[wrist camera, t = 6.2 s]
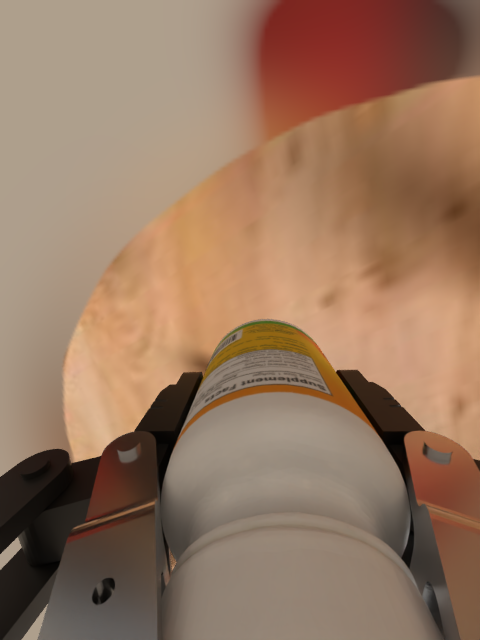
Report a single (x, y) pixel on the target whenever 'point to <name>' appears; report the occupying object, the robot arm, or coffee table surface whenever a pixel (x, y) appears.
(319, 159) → the coffee table surface
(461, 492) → the robot arm
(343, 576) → the supplement bottle
